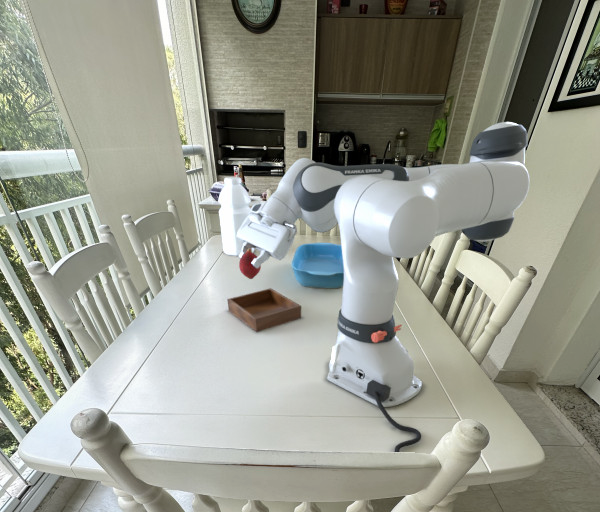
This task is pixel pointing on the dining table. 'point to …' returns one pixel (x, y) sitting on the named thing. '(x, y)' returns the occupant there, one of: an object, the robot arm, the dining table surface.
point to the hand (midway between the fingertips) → (247, 262)
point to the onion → (248, 265)
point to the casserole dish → (319, 265)
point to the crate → (264, 309)
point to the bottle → (233, 214)
